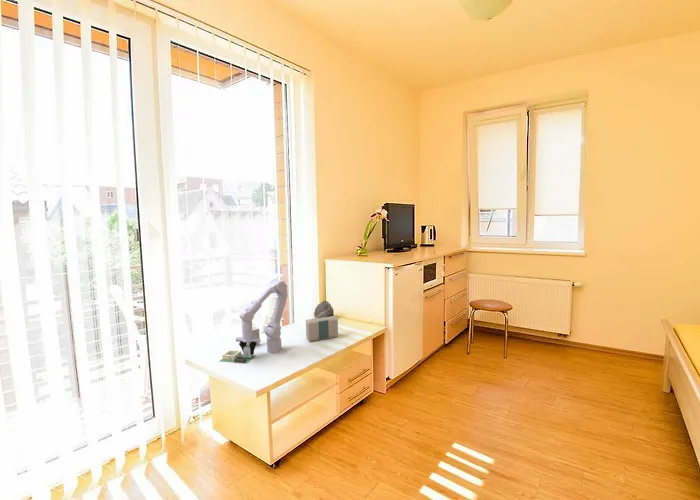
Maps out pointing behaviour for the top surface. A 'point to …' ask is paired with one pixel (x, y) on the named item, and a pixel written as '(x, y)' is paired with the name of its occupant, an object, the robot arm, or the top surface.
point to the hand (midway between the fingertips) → (248, 354)
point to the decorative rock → (323, 310)
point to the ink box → (255, 335)
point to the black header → (239, 359)
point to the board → (239, 356)
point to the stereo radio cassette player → (321, 328)
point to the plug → (247, 351)
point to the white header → (231, 354)
